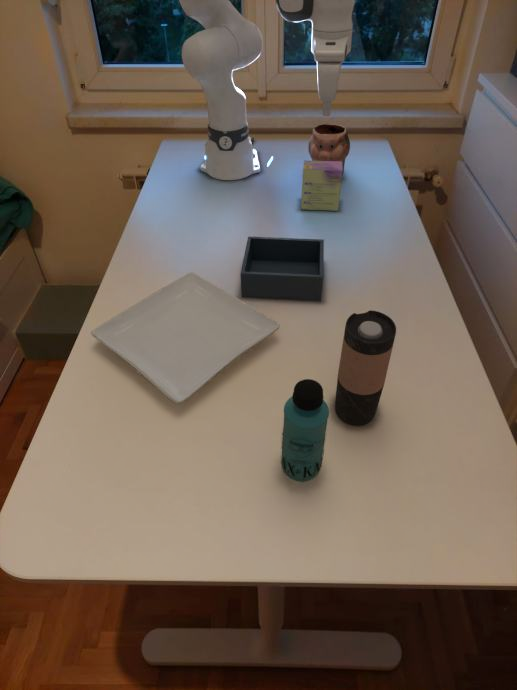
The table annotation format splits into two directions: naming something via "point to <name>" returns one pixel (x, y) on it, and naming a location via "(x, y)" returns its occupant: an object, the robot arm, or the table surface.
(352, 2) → the robot arm
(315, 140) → the decorative planter
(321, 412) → the beverage bottle
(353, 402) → the travel mug
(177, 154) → the table surface
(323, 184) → the box
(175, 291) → the square plate
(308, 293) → the bin
